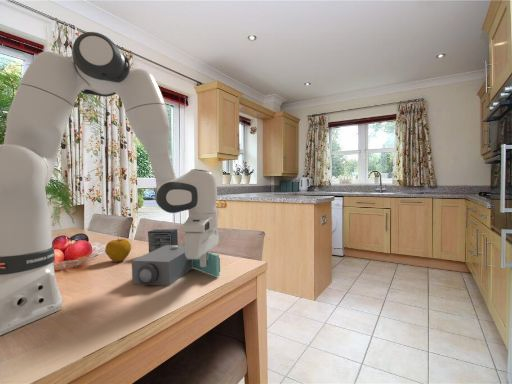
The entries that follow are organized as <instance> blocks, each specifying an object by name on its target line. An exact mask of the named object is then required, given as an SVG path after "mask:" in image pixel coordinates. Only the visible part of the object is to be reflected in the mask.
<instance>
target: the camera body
mask: <svg viewBox="0 0 512 384" xmlns="http://www.w3.org/2000/svg"><path fill="white" fill-rule="evenodd" d="M192 269H194V268H193V261H192V259H187V258H186V256H185V249H184V244H183V245H182V244H178V245H165V246H163V247H161V248H158V249H156V250H154V251H152V252H150V253H149V252H148V253H144V254H142V255H141V256H139V257H136V258H135V259H132V260H131V276H132V277H131V278H132V280H131V281H132V284H133V285H145V286H150V285H152V286H168V287H169V286H171V285H173V284H174V283H175V282H176V281H178V280H179V279H180V278H182V277H183V276H184V275H186V274H187V273H188V272H190V271H191V270H192Z"/></svg>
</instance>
